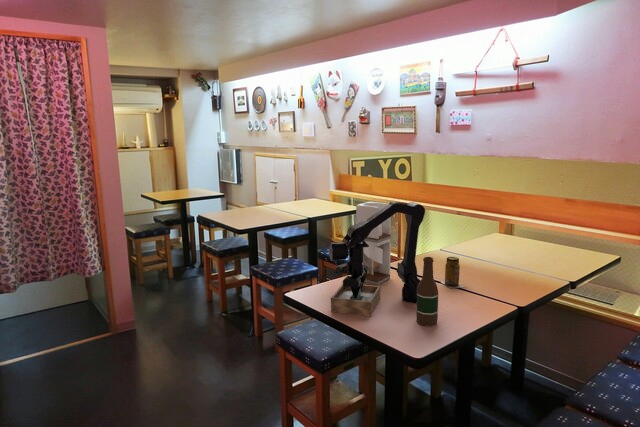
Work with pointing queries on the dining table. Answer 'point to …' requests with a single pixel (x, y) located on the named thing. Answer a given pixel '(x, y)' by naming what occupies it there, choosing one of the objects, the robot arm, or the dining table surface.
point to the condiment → (452, 273)
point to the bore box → (359, 307)
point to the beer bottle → (427, 296)
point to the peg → (357, 296)
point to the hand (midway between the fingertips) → (356, 296)
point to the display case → (376, 244)
